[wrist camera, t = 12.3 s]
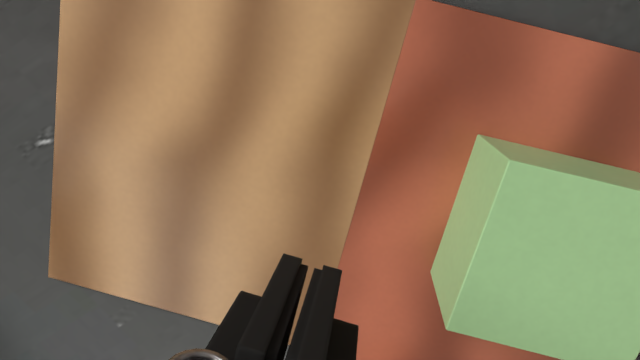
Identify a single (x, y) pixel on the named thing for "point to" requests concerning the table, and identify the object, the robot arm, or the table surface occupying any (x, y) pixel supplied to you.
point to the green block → (543, 254)
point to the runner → (306, 148)
